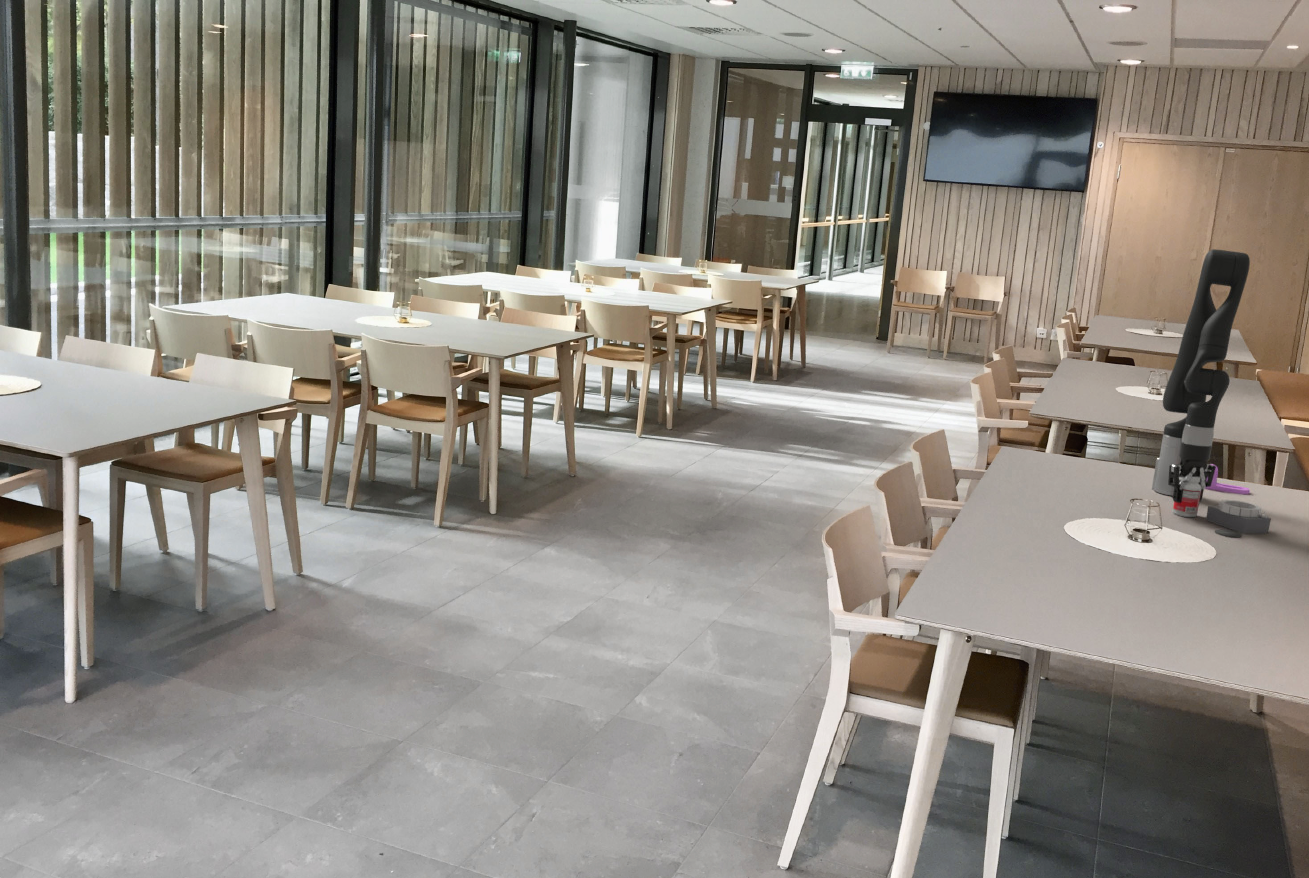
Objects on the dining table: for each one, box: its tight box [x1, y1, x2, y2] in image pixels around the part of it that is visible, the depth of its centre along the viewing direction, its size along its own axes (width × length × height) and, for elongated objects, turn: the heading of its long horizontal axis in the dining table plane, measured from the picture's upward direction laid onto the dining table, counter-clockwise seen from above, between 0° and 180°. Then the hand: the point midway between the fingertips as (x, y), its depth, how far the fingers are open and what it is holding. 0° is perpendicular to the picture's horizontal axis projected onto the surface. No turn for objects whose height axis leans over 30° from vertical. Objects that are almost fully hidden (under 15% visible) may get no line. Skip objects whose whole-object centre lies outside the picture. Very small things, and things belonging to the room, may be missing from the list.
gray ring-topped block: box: [1205, 499, 1272, 535], centre depth 299 cm, size 13×10×6 cm
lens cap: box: [1214, 528, 1243, 539], centre depth 291 cm, size 6×6×1 cm
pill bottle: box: [1172, 476, 1202, 518], centre depth 307 cm, size 6×6×11 cm
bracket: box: [1204, 463, 1251, 495], centre depth 343 cm, size 13×6×7 cm, turn 63°
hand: (1186, 501), depth 308 cm, fingers closed on pill bottle, 6 cm apart
